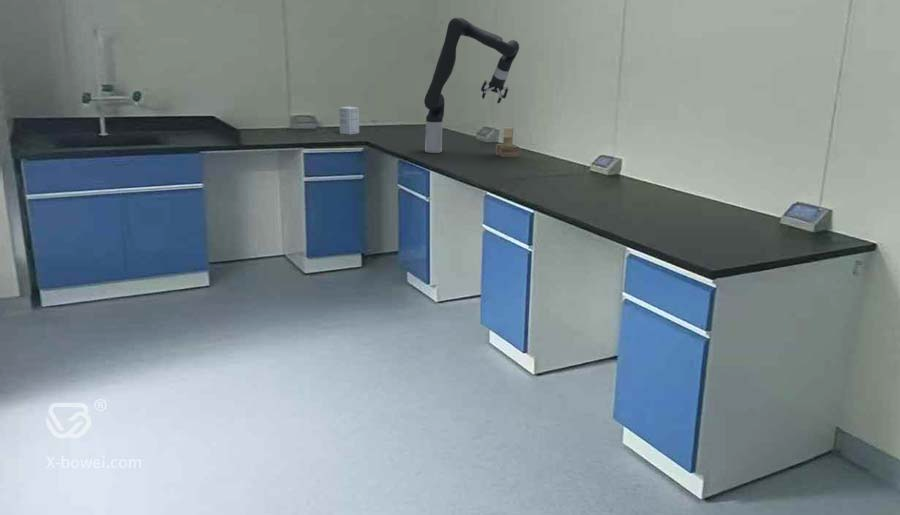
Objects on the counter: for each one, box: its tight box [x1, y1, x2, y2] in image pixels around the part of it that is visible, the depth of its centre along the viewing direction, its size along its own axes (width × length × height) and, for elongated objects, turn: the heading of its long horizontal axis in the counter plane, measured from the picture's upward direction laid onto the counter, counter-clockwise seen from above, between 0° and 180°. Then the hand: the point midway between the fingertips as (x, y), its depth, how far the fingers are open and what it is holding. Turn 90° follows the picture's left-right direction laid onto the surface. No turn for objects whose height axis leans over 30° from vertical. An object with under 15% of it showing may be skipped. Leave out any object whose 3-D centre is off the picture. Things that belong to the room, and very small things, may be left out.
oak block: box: [502, 126, 514, 146], centre depth 412 cm, size 4×4×10 cm
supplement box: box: [338, 106, 360, 136], centre depth 482 cm, size 10×9×17 cm
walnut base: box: [495, 143, 520, 158], centre depth 414 cm, size 10×10×6 cm
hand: (490, 100), depth 409 cm, fingers open, 8 cm apart
